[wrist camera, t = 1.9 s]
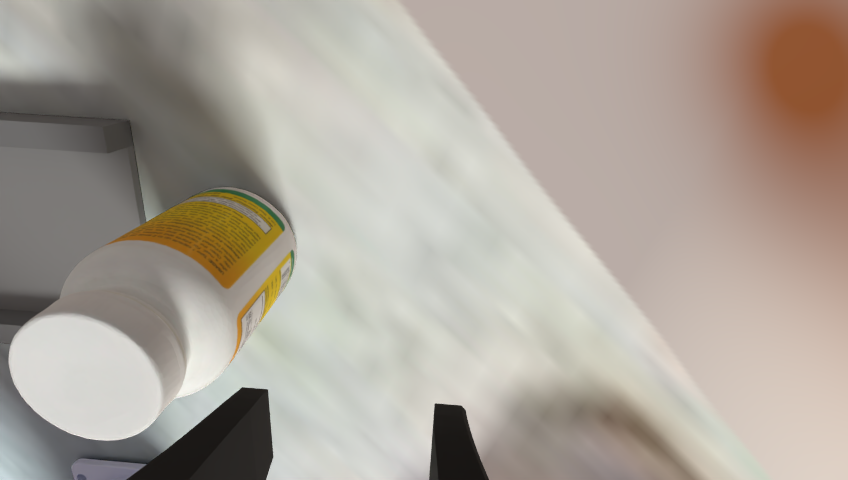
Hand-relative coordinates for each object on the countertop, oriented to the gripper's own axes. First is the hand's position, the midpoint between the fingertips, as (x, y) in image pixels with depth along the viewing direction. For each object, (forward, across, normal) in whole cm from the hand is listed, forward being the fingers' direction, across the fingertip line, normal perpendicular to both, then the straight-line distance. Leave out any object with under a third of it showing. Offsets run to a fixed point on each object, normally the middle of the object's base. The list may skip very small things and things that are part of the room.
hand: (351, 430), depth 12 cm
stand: (+10, +16, 0) cm, 20 cm away
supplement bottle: (+11, +7, 0) cm, 13 cm away
